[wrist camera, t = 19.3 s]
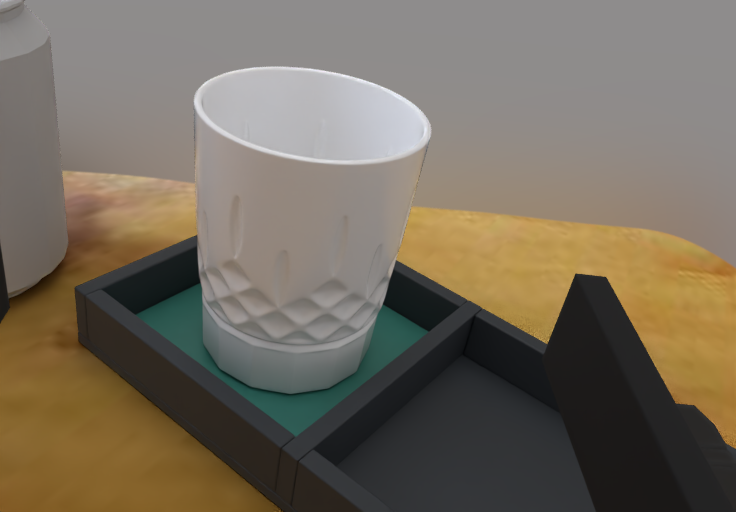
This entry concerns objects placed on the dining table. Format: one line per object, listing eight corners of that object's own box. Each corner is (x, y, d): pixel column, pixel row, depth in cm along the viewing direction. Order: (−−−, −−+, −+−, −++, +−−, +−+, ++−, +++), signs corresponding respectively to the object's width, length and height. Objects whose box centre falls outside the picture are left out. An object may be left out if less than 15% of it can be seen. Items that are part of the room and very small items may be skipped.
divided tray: (78, 341, 28) (73, 286, 26) (279, 243, 36) (284, 197, 34) (595, 770, 18) (633, 721, 16) (711, 501, 26) (743, 452, 25)
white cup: (295, 261, 34) (321, 55, 28) (419, 351, 29) (477, 131, 24) (147, 322, 28) (144, 83, 23) (274, 442, 24) (307, 187, 19)
